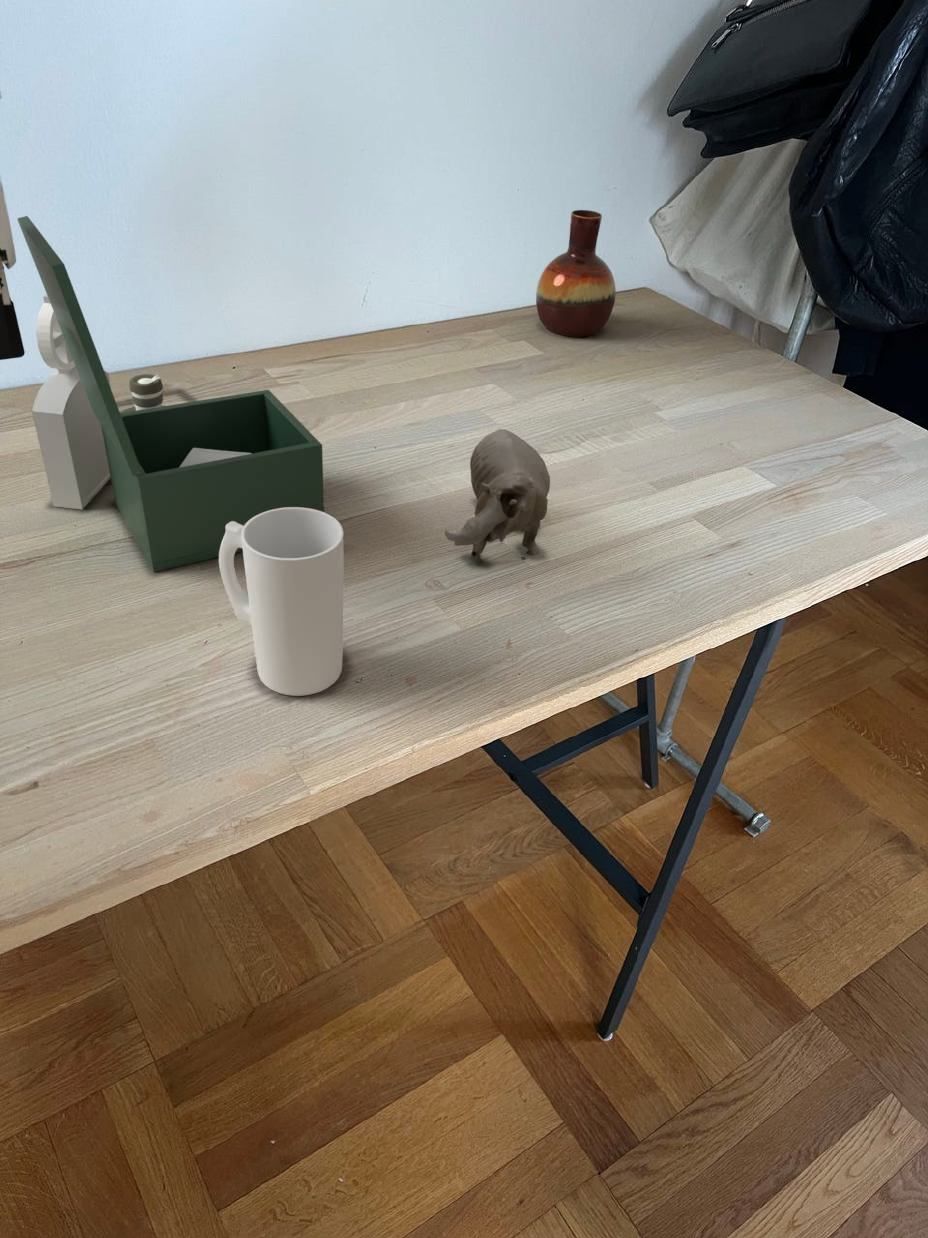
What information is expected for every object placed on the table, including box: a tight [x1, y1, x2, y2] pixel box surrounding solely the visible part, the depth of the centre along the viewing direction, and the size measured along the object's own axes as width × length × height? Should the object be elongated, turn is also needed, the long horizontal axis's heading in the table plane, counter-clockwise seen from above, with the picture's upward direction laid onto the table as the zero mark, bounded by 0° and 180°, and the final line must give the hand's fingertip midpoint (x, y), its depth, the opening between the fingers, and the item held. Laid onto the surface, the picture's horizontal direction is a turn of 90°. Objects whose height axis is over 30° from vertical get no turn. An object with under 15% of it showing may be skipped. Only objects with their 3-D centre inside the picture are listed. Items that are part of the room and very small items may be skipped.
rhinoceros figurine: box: [444, 428, 551, 567], centre depth 83 cm, size 8×14×15 cm
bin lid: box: [17, 215, 142, 476], centre depth 71 cm, size 16×13×1 cm
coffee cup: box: [119, 373, 164, 413], centre depth 99 cm, size 12×12×5 cm
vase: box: [535, 209, 617, 338], centre depth 128 cm, size 11×11×15 cm
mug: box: [218, 507, 345, 697], centre depth 66 cm, size 10×7×12 cm, turn 62°
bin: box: [101, 389, 325, 573], centre depth 83 cm, size 16×13×9 cm
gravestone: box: [31, 293, 112, 511], centre depth 84 cm, size 3×9×18 cm, turn 174°
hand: (0, 355), depth 69 cm, fingers closed
